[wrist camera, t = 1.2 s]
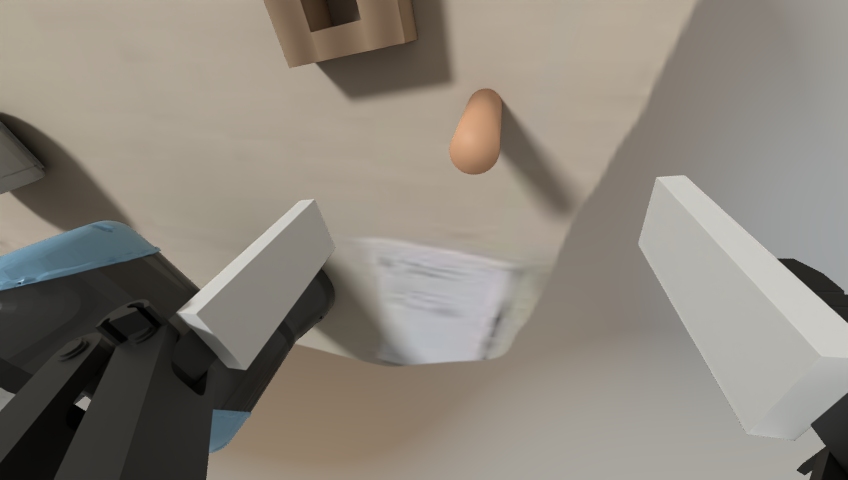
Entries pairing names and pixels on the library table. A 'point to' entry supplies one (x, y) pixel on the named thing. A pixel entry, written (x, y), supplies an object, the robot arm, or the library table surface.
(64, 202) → the library table surface
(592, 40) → the library table surface
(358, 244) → the library table surface
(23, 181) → the alarm clock
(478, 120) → the orange rounded rod
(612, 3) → the library table surface
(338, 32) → the hole block
